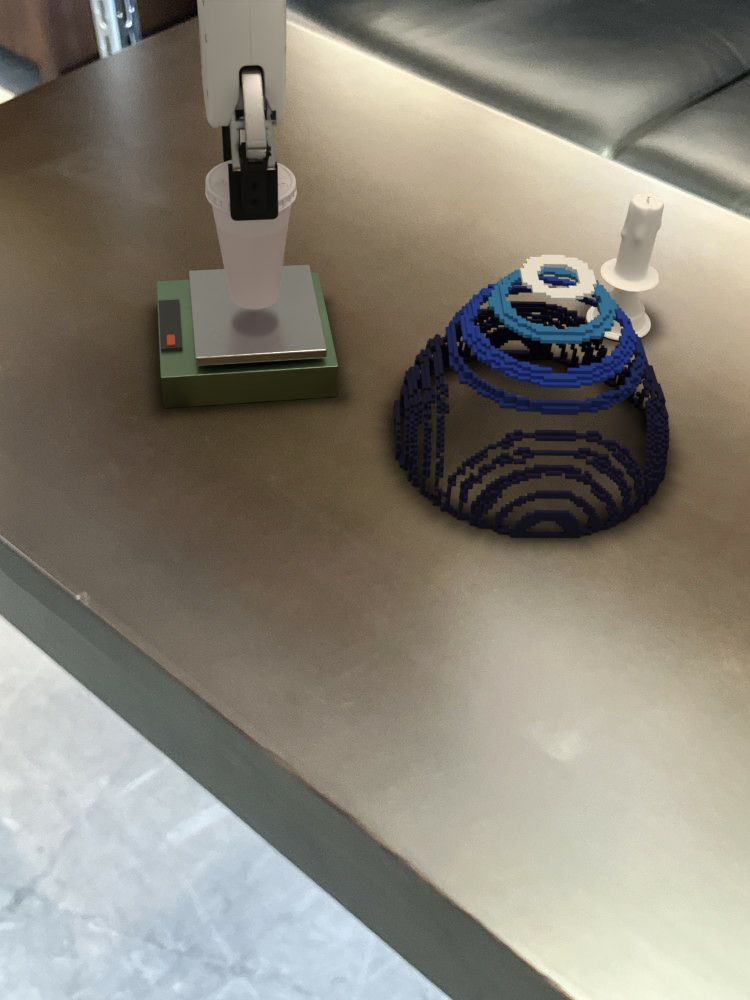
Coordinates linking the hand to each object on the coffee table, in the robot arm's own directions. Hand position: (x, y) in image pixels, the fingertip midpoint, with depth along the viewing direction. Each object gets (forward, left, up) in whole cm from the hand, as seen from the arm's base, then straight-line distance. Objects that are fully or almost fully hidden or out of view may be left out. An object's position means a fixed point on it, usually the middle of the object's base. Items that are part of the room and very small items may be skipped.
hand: (250, 188), depth 80 cm
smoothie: (0, 0, -9) cm, 9 cm away
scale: (-1, 0, -15) cm, 15 cm away
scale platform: (0, 0, -11) cm, 11 cm away
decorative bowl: (+19, -12, -15) cm, 27 cm away
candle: (+30, +1, -15) cm, 34 cm away
